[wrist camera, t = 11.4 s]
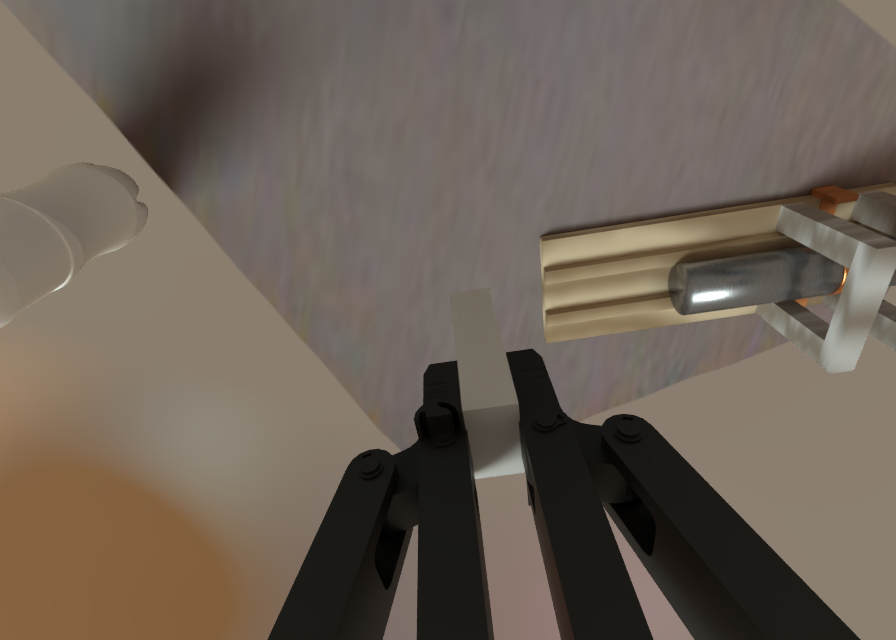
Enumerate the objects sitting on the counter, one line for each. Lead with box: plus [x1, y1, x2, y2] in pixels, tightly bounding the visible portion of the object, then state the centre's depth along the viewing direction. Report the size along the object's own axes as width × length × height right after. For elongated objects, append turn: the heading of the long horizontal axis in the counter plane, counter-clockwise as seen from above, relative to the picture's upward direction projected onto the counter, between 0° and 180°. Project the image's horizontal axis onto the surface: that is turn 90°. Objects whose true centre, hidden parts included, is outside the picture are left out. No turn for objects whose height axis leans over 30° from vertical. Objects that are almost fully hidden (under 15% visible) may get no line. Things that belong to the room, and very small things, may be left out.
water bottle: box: [0, 163, 148, 328], centre depth 30 cm, size 7×7×25 cm
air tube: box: [668, 233, 896, 315], centre depth 43 cm, size 20×5×5 cm, turn 98°
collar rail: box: [540, 183, 896, 373], centre depth 42 cm, size 13×34×12 cm, turn 98°
